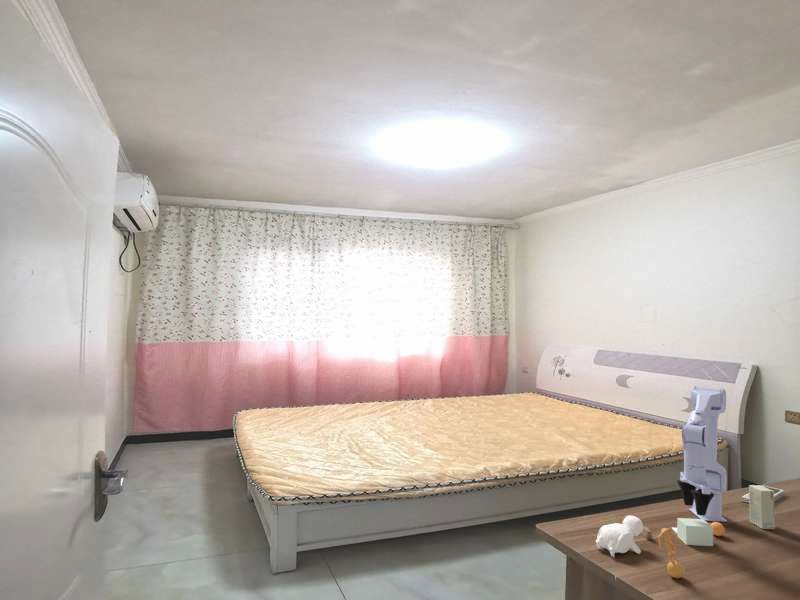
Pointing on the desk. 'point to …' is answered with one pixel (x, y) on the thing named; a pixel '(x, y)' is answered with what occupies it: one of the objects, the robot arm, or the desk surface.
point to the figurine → (671, 553)
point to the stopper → (646, 532)
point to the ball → (717, 529)
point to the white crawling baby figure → (620, 535)
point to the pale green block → (695, 532)
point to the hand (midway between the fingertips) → (694, 509)
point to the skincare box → (761, 506)
